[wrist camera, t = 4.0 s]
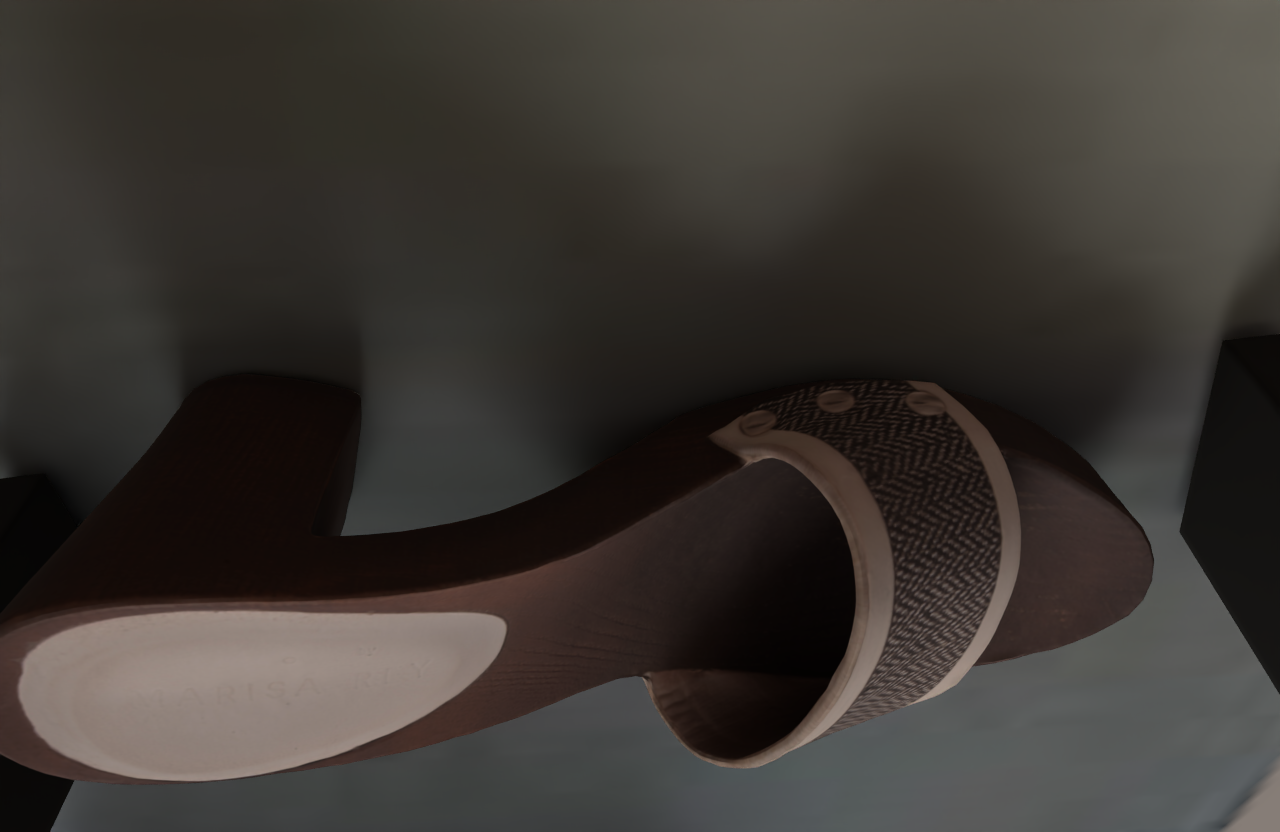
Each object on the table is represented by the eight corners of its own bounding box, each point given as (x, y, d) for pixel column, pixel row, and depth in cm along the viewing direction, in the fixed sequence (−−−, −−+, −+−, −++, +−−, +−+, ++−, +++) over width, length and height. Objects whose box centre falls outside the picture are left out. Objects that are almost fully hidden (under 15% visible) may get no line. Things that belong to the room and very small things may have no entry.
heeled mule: (1011, 652, 14) (1119, 937, 11) (157, 577, 13) (17, 870, 10) (1153, 378, 12) (1346, 653, 9) (102, 258, 11) (-114, 521, 7)
